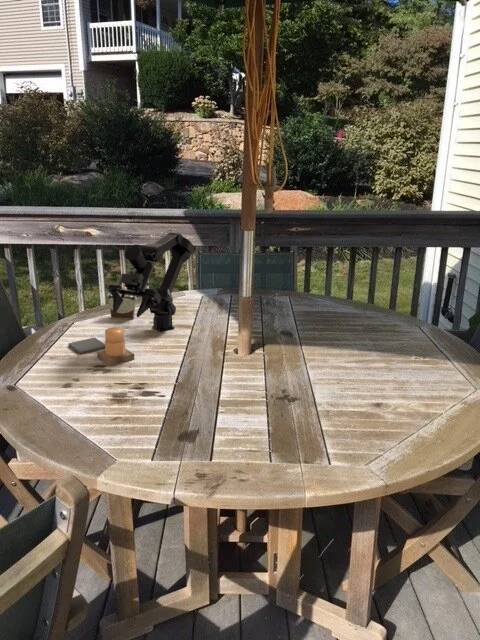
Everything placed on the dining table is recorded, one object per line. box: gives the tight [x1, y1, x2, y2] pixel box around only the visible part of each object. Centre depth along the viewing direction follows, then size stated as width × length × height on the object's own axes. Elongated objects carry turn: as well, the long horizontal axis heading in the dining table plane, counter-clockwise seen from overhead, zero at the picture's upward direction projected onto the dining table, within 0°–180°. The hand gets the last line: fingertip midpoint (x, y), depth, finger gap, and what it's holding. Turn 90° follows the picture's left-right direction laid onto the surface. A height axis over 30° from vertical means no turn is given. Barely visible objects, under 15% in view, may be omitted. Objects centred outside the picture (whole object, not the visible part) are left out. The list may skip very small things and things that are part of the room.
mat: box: [67, 337, 105, 355], centre depth 190 cm, size 10×10×1 cm
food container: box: [106, 293, 138, 320], centre depth 221 cm, size 12×6×10 cm, turn 84°
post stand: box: [96, 348, 135, 366], centre depth 180 cm, size 9×9×6 cm
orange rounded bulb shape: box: [104, 326, 126, 356], centre depth 179 cm, size 6×6×8 cm
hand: (125, 314), depth 183 cm, fingers open, 9 cm apart
